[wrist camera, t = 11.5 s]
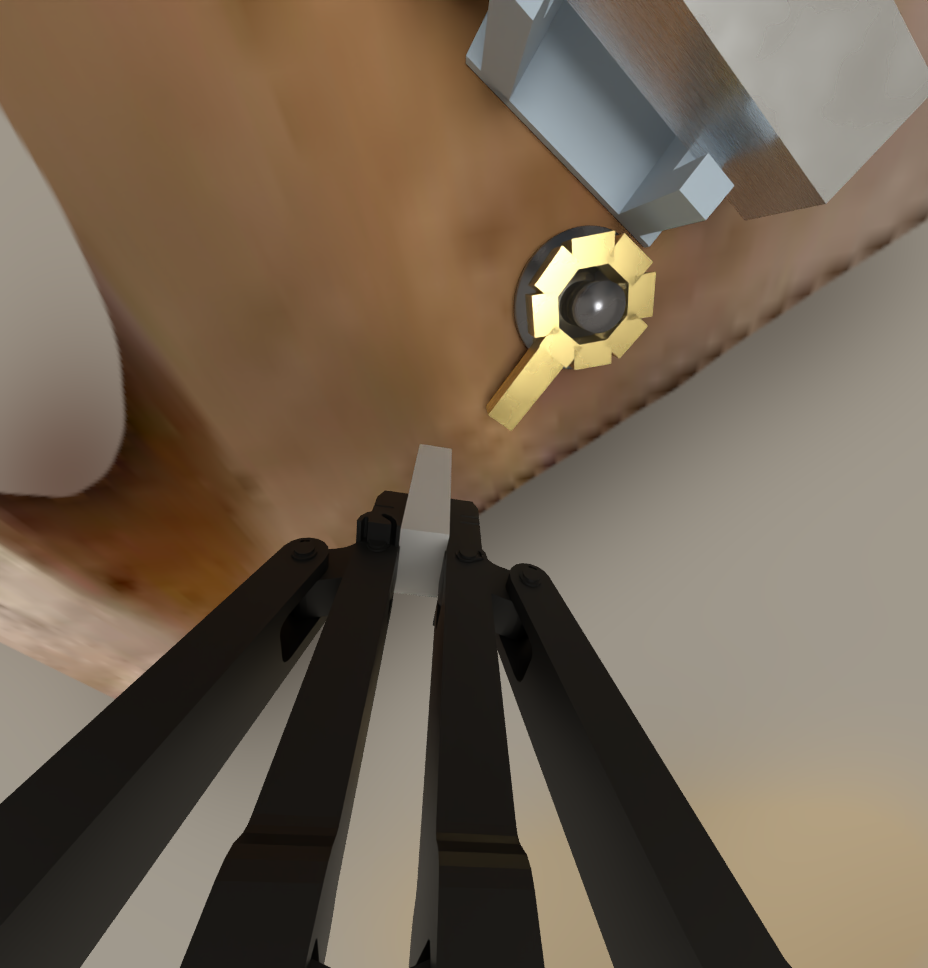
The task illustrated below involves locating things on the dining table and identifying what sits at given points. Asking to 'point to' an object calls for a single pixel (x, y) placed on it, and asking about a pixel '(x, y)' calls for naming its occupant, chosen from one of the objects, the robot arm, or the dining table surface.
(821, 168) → the white t-shaped plate
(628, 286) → the gold box wrench
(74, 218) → the dining table surface
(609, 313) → the nut base
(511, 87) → the rack
